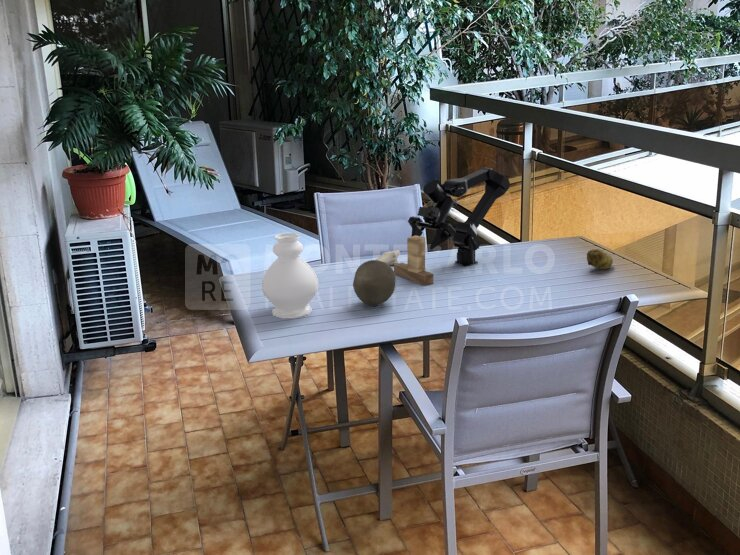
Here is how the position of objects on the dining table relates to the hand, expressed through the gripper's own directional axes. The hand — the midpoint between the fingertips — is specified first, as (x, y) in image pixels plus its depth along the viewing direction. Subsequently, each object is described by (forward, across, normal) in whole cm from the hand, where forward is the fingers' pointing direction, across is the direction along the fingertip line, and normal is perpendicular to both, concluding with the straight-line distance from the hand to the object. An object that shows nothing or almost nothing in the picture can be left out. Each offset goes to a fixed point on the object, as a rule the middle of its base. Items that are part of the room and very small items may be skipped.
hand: (420, 246), depth 262 cm
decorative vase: (+45, -8, -30) cm, 55 cm away
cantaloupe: (+30, +8, -14) cm, 34 cm away
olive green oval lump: (-27, +42, +45) cm, 67 cm away
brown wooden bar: (+10, -2, +7) cm, 12 cm away
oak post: (+8, 0, +4) cm, 9 cm away
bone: (+10, -19, +8) cm, 22 cm away
